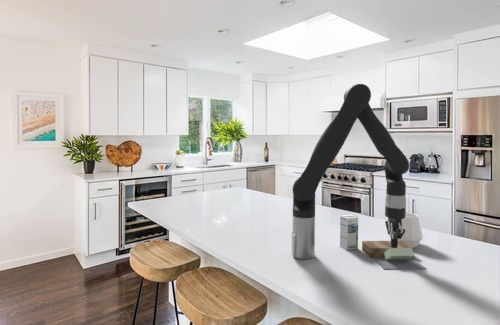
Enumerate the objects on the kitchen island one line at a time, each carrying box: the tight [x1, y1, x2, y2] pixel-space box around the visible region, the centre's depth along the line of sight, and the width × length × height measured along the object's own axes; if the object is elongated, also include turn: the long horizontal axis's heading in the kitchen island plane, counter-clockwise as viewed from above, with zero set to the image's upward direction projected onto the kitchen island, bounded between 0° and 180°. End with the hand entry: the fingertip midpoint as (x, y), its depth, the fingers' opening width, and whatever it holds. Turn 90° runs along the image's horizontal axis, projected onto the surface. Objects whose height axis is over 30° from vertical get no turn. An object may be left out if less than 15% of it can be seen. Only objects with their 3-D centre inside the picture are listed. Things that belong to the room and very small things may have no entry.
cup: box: [398, 212, 423, 248], centre depth 146 cm, size 13×13×14 cm
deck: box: [361, 240, 415, 259], centre depth 135 cm, size 18×9×4 cm, turn 90°
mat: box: [372, 257, 427, 270], centre depth 125 cm, size 16×11×1 cm
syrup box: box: [339, 214, 359, 251], centre depth 142 cm, size 6×6×14 cm
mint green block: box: [384, 248, 415, 260], centre depth 125 cm, size 9×6×3 cm
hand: (394, 247), depth 128 cm, fingers closed
